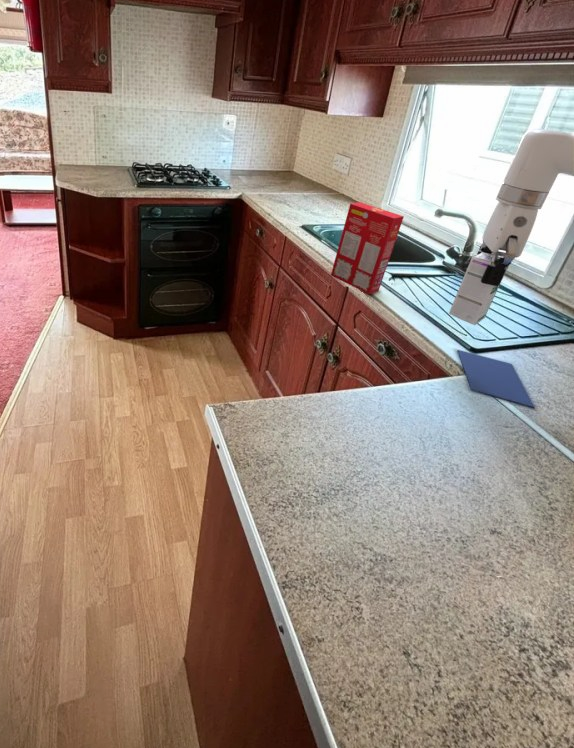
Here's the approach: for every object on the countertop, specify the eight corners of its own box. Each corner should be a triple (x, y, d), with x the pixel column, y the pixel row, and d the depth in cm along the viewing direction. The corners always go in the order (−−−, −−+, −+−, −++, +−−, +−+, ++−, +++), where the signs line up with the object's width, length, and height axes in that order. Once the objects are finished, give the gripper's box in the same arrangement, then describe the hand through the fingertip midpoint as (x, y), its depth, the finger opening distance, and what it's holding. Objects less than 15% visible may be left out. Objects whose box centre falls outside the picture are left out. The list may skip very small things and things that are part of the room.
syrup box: (475, 326, 88) (504, 266, 81) (447, 313, 92) (472, 255, 85) (484, 318, 91) (512, 260, 85) (456, 307, 95) (481, 250, 89)
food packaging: (378, 290, 129) (403, 216, 118) (369, 294, 126) (394, 218, 115) (339, 272, 139) (359, 202, 128) (330, 275, 136) (350, 203, 125)
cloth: (511, 364, 99) (511, 363, 99) (534, 408, 86) (534, 407, 86) (457, 350, 103) (457, 349, 103) (471, 390, 89) (471, 389, 89)
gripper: (562, 211, 71) (516, 298, 79) (528, 190, 85) (493, 265, 93) (513, 203, 73) (473, 288, 81) (488, 184, 88) (457, 258, 95)
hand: (484, 275), depth 87 cm, fingers closed on syrup box, 7 cm apart
